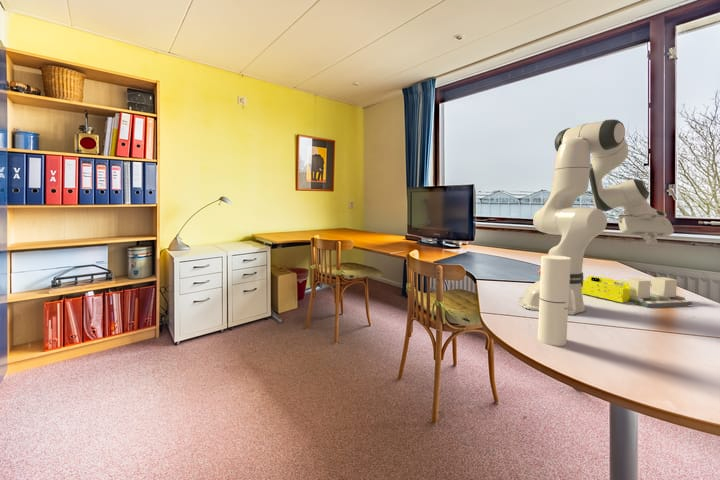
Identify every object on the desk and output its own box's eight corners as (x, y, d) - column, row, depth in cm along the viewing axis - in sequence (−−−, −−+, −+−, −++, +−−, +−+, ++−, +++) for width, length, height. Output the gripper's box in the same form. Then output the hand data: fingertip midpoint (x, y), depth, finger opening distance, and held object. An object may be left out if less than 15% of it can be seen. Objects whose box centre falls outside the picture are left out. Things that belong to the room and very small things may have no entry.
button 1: (637, 298, 119) (638, 281, 118) (623, 294, 125) (624, 277, 125) (649, 298, 119) (650, 280, 119) (634, 293, 126) (635, 277, 125)
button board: (647, 307, 114) (647, 301, 114) (616, 297, 127) (617, 291, 127) (691, 305, 115) (692, 299, 115) (656, 296, 128) (657, 290, 128)
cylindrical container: (532, 336, 92) (535, 255, 90) (554, 334, 93) (558, 254, 90) (548, 346, 85) (552, 259, 83) (572, 345, 86) (577, 258, 83)
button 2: (663, 297, 120) (665, 280, 119) (648, 293, 126) (649, 276, 125) (675, 297, 120) (677, 279, 119) (659, 292, 126) (660, 276, 125)
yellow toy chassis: (629, 302, 121) (631, 282, 120) (621, 304, 119) (623, 284, 118) (586, 292, 136) (587, 274, 135) (578, 294, 134) (579, 276, 133)
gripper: (621, 210, 130) (633, 238, 124) (669, 212, 130) (683, 241, 123) (610, 218, 136) (621, 245, 129) (656, 220, 135) (669, 248, 129)
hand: (652, 243), depth 126 cm, fingers closed
